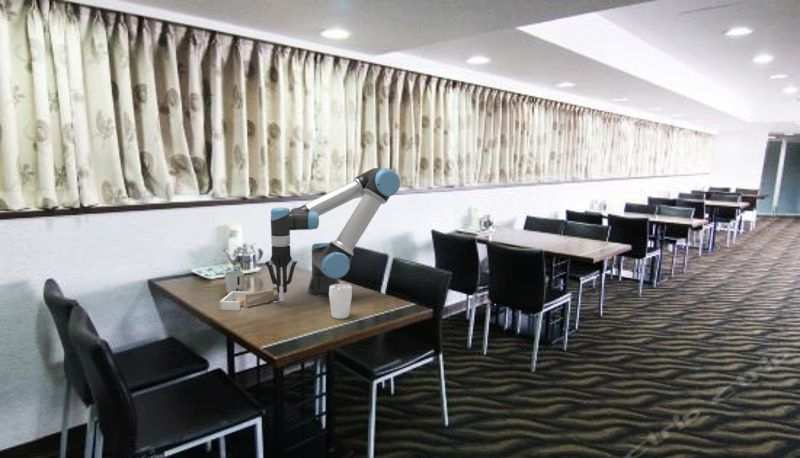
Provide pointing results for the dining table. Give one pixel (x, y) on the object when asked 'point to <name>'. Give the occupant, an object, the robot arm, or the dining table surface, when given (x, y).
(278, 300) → the pivot base
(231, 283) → the cup
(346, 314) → the cup
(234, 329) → the dining table surface
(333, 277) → the robot arm
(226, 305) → the white u-shaped bracket
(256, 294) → the tan wooden bar
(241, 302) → the ball
